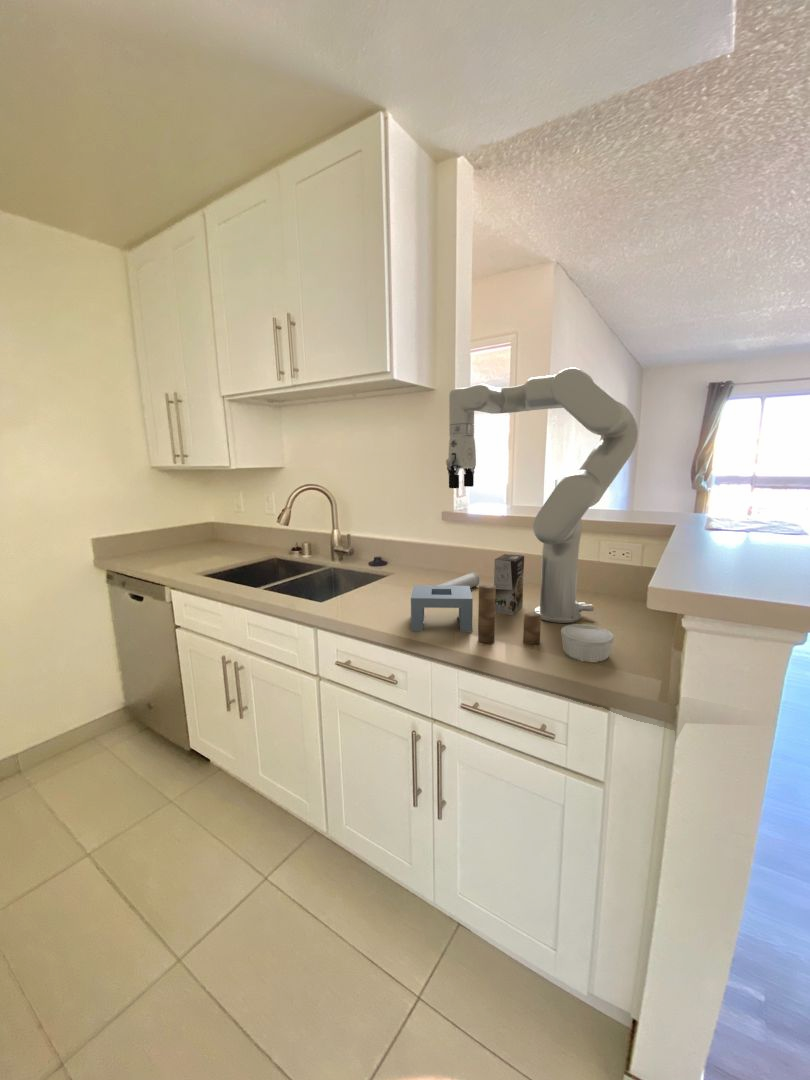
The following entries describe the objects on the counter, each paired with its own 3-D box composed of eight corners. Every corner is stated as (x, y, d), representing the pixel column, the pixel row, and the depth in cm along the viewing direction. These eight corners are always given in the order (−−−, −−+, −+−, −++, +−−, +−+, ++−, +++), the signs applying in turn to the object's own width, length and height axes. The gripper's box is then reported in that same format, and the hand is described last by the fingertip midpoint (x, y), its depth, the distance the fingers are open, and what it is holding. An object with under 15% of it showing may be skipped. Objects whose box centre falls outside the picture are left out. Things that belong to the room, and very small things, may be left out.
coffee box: (513, 615, 125) (515, 561, 122) (492, 612, 128) (493, 558, 125) (523, 606, 132) (525, 555, 129) (503, 603, 135) (504, 553, 133)
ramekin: (601, 644, 105) (602, 623, 104) (621, 665, 94) (622, 642, 93) (554, 643, 105) (555, 623, 104) (568, 665, 94) (569, 642, 93)
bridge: (469, 615, 125) (469, 585, 124) (472, 631, 113) (472, 598, 112) (414, 615, 126) (413, 585, 125) (411, 630, 115) (410, 598, 113)
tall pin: (493, 638, 109) (494, 584, 107) (495, 644, 105) (496, 589, 103) (477, 638, 109) (478, 584, 107) (478, 644, 105) (479, 589, 103)
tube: (437, 593, 134) (481, 576, 152) (425, 585, 137) (469, 569, 155) (433, 608, 136) (477, 589, 154) (421, 599, 139) (465, 582, 157)
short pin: (538, 639, 108) (539, 612, 107) (541, 645, 104) (542, 618, 103) (521, 638, 108) (522, 612, 107) (524, 645, 104) (525, 617, 103)
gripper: (459, 428, 123) (458, 489, 126) (485, 431, 137) (484, 486, 140) (436, 430, 128) (436, 488, 131) (463, 433, 142) (463, 485, 145)
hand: (461, 487), depth 135 cm, fingers open, 9 cm apart
